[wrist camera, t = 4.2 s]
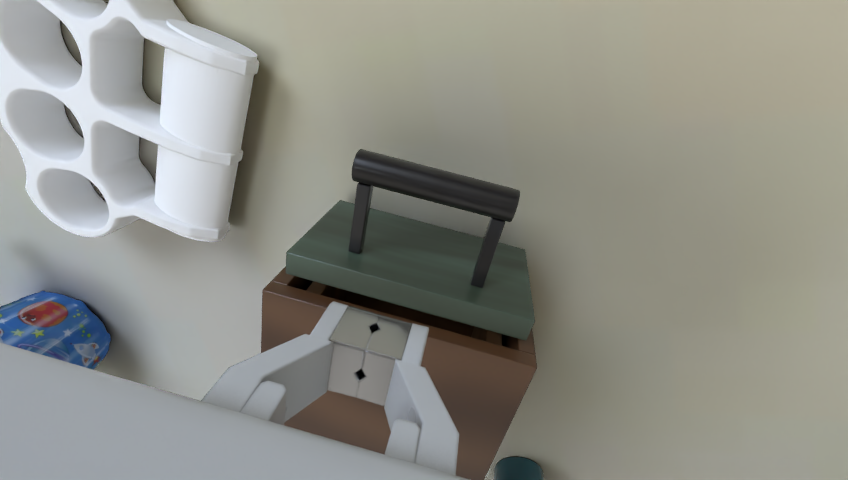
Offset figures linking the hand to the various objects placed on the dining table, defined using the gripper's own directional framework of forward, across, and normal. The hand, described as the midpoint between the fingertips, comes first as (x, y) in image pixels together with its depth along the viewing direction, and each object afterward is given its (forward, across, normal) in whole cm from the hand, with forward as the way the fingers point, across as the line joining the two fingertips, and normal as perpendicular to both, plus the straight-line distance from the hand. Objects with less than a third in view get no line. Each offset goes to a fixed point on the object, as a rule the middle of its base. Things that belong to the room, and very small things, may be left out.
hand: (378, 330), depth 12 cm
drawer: (+12, 0, +8) cm, 14 cm away
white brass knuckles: (+13, +19, -1) cm, 23 cm away
